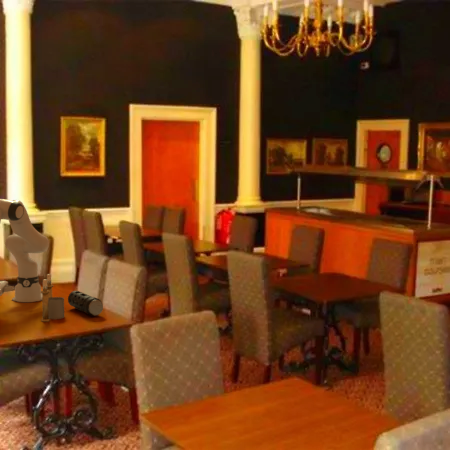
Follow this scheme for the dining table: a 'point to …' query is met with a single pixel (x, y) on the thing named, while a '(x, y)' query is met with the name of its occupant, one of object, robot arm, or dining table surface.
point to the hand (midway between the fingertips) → (14, 288)
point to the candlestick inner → (49, 285)
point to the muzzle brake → (85, 303)
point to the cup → (56, 307)
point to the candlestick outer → (45, 302)
